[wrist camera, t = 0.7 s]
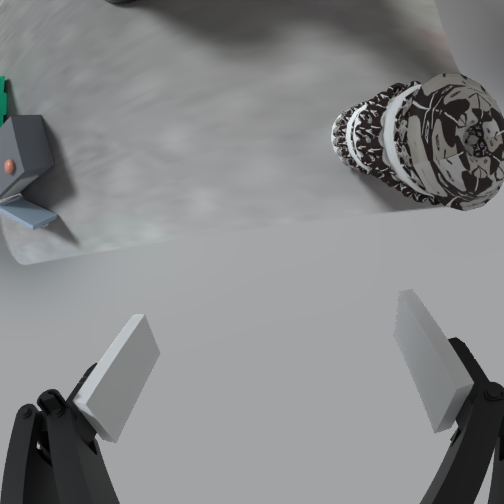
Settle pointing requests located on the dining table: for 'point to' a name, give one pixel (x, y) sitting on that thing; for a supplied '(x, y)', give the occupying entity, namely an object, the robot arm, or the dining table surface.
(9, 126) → the housing
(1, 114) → the camera mount
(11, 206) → the side door
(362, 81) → the dining table surface
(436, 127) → the decorative candle
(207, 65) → the dining table surface
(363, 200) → the dining table surface
